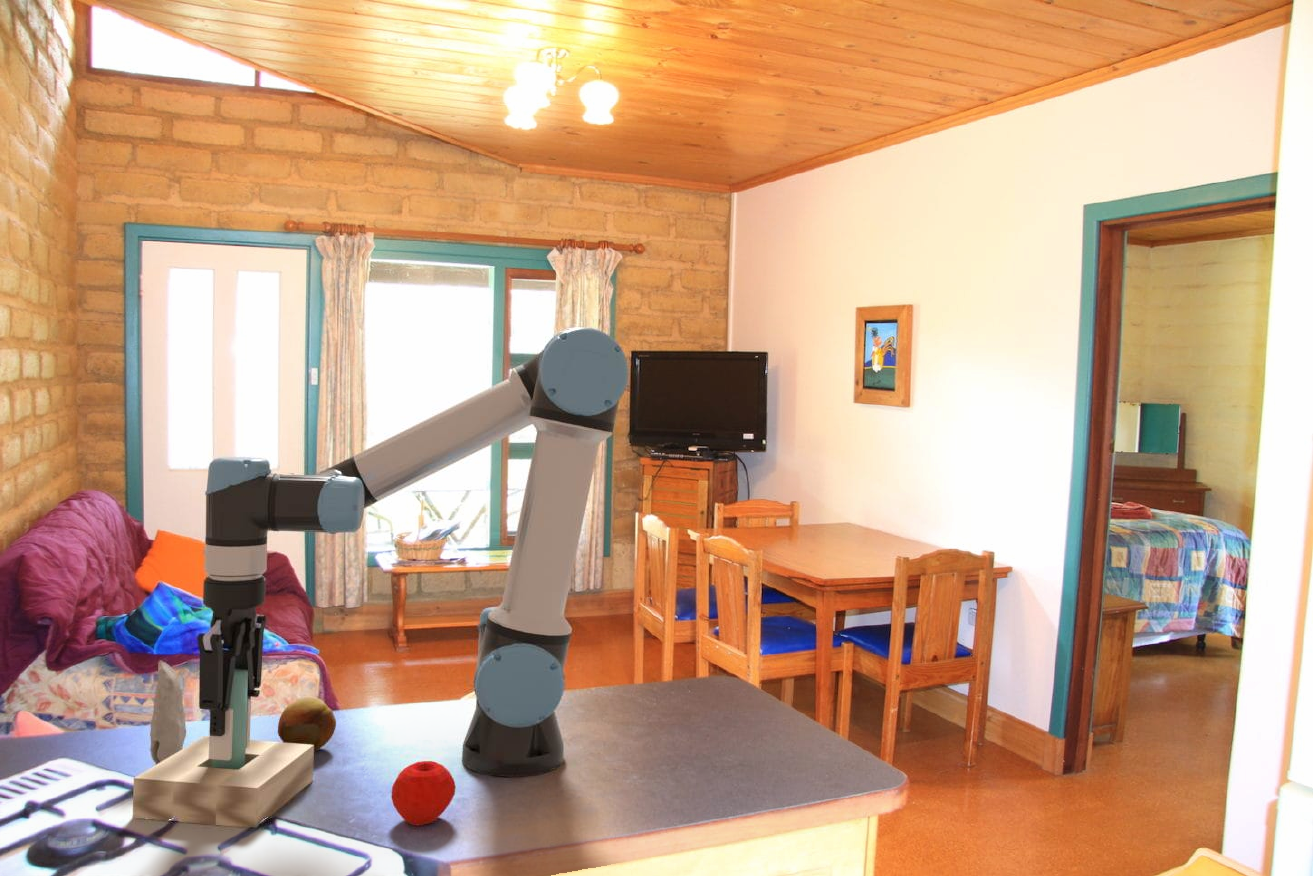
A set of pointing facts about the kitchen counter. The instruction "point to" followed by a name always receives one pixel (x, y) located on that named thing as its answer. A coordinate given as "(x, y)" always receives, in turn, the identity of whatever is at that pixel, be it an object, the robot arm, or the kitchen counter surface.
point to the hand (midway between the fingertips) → (229, 752)
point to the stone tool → (167, 715)
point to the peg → (237, 722)
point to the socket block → (223, 784)
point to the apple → (422, 792)
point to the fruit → (307, 722)
